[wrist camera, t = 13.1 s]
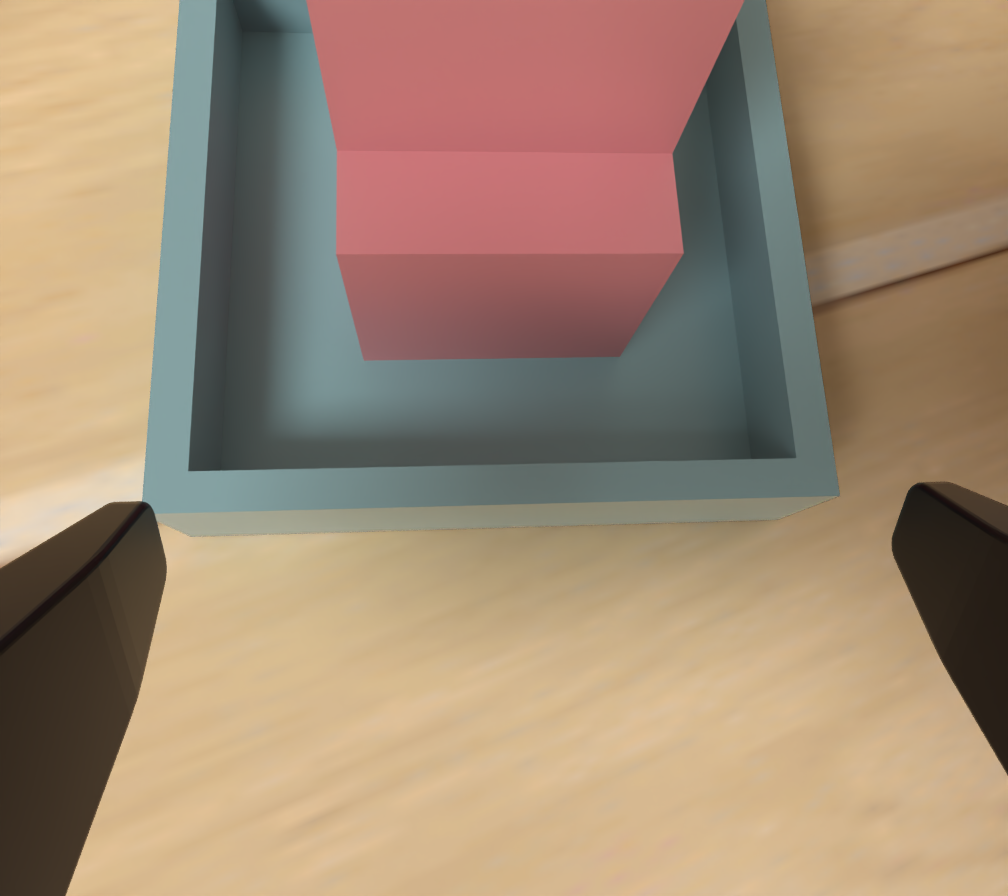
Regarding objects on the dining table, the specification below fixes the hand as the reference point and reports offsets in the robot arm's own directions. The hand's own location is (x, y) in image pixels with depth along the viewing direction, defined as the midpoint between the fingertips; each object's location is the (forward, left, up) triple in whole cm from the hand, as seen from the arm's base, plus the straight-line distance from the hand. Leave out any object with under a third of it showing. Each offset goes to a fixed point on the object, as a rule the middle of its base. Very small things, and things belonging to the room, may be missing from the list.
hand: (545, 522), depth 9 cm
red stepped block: (+7, -3, -8) cm, 11 cm away
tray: (+7, -3, -9) cm, 12 cm away
